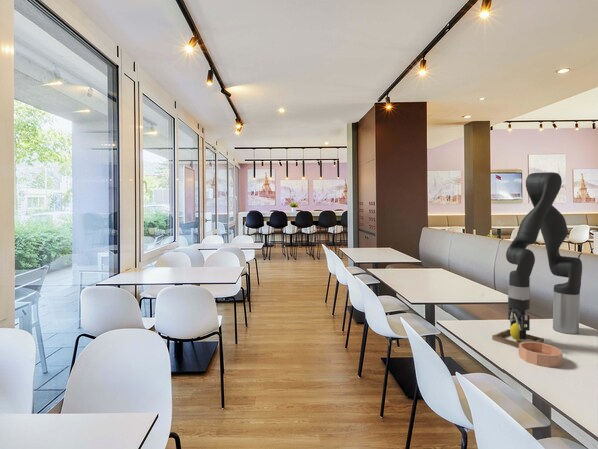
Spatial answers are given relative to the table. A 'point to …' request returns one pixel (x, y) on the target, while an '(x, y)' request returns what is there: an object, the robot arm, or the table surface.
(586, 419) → the table surface
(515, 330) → the lemon
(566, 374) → the table surface
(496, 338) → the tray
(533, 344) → the bowl
